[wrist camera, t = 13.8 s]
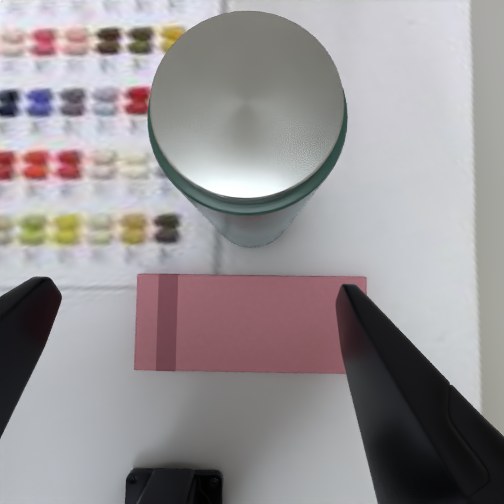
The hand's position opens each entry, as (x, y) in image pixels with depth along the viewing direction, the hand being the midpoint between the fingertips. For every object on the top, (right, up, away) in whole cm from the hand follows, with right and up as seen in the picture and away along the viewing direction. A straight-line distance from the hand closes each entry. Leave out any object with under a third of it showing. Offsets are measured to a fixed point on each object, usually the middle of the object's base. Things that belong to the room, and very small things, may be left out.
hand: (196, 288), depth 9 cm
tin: (+2, +4, +12) cm, 13 cm away
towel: (+2, -4, +11) cm, 12 cm away
